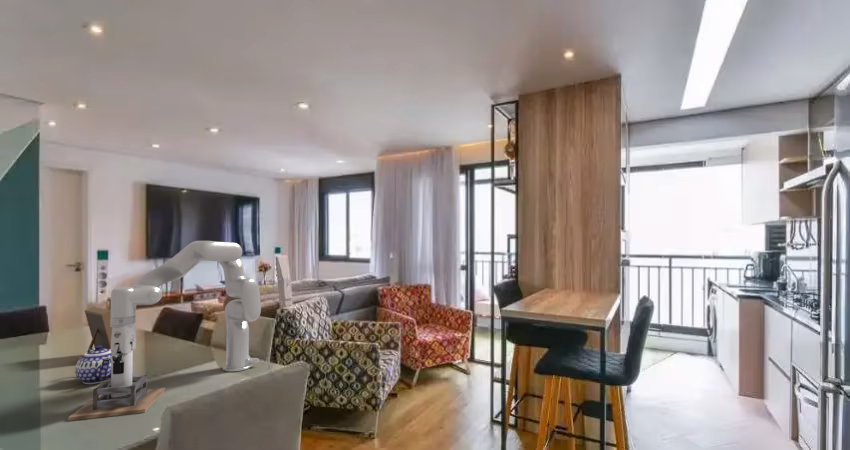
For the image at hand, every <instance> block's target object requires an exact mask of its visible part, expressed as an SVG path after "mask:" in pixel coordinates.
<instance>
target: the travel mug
mask: <svg viewBox="0 0 850 450" xmlns="http://www.w3.org/2000/svg"><path fill="white" fill-rule="evenodd" d="M132 343H133V341H131V342H130V344H132ZM132 345H133V344H132ZM132 345H131V348H132ZM133 351H134V350H132V349H131V351H130V352H129V353H127V354H124V358H123V362H124V373H123V374H113V359H112V356H111V387H118V386H129V385H133V383H132V376H133V368H134V367H133V357H134V356H133V353H134V352H133ZM120 353H122V352H118V354H120ZM111 355H112V354H111ZM119 357H120V358H121V356H119ZM130 396H131V392H126V393H116V394H111V399H121V398H128V397H130Z"/></svg>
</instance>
